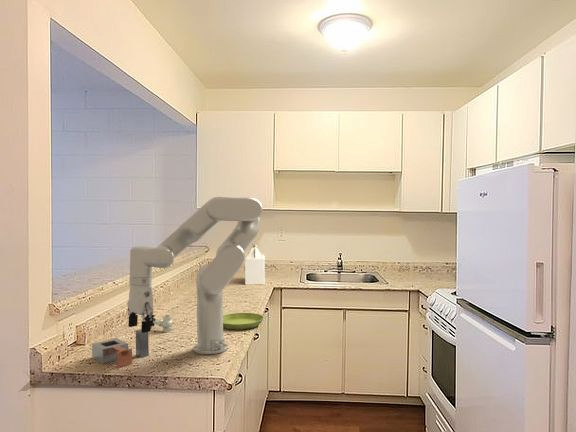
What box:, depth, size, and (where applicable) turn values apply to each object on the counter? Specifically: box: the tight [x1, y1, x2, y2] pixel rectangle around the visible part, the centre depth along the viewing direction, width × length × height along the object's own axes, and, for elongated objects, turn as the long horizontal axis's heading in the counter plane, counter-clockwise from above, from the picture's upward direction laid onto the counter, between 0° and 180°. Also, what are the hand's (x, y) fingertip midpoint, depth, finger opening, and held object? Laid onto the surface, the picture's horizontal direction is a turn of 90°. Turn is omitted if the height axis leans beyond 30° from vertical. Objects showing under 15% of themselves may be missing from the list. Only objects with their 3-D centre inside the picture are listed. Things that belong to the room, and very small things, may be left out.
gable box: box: [244, 241, 266, 285], centre depth 312 cm, size 22×13×28 cm, turn 3°
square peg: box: [135, 329, 150, 359], centre depth 159 cm, size 3×3×9 cm
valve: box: [151, 314, 173, 333], centre depth 192 cm, size 7×7×12 cm
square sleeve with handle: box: [91, 337, 133, 368], centre depth 155 cm, size 16×9×5 cm, turn 45°
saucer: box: [223, 312, 265, 330], centre depth 201 cm, size 21×21×3 cm
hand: (139, 329), depth 159 cm, fingers open, 9 cm apart
